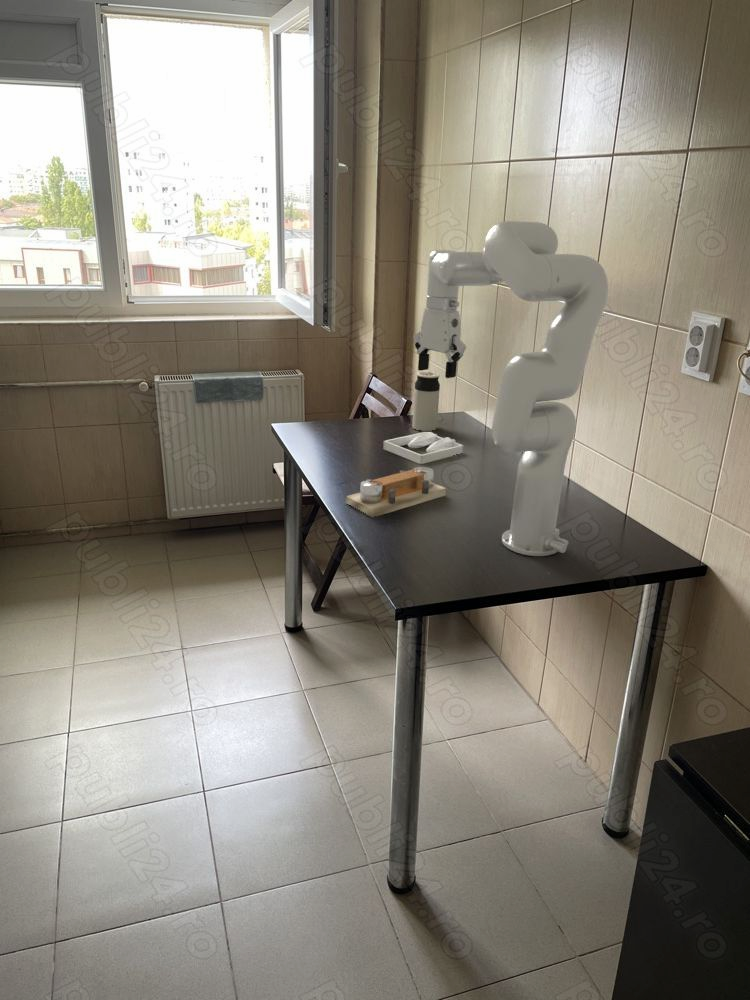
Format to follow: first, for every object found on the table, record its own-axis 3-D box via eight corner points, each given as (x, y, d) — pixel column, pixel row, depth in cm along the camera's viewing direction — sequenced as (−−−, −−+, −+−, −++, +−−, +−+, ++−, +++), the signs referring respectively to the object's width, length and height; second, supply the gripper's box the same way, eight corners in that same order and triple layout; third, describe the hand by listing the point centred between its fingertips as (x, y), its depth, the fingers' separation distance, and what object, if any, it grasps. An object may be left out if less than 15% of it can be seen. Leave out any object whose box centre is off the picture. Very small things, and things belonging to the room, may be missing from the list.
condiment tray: (462, 453, 216) (463, 445, 215) (420, 464, 206) (421, 455, 205) (424, 439, 227) (425, 431, 226) (383, 449, 217) (383, 440, 216)
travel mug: (410, 430, 236) (414, 375, 229) (413, 424, 243) (417, 370, 236) (435, 432, 235) (439, 377, 228) (437, 426, 242) (441, 372, 235)
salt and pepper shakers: (427, 441, 227) (400, 448, 220) (428, 429, 225) (400, 435, 218) (454, 452, 218) (427, 459, 212) (455, 439, 216) (428, 445, 210)
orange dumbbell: (436, 486, 184) (438, 471, 183) (369, 505, 171) (370, 489, 169) (422, 480, 188) (423, 465, 186) (355, 498, 174) (356, 483, 173)
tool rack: (445, 495, 184) (446, 477, 182) (372, 517, 169) (373, 497, 168) (417, 483, 191) (419, 465, 189) (345, 503, 176) (346, 484, 175)
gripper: (478, 307, 174) (472, 378, 180) (427, 298, 186) (423, 365, 192) (456, 309, 169) (450, 382, 176) (406, 300, 181) (402, 368, 188)
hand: (436, 373), depth 184 cm, fingers open, 9 cm apart
